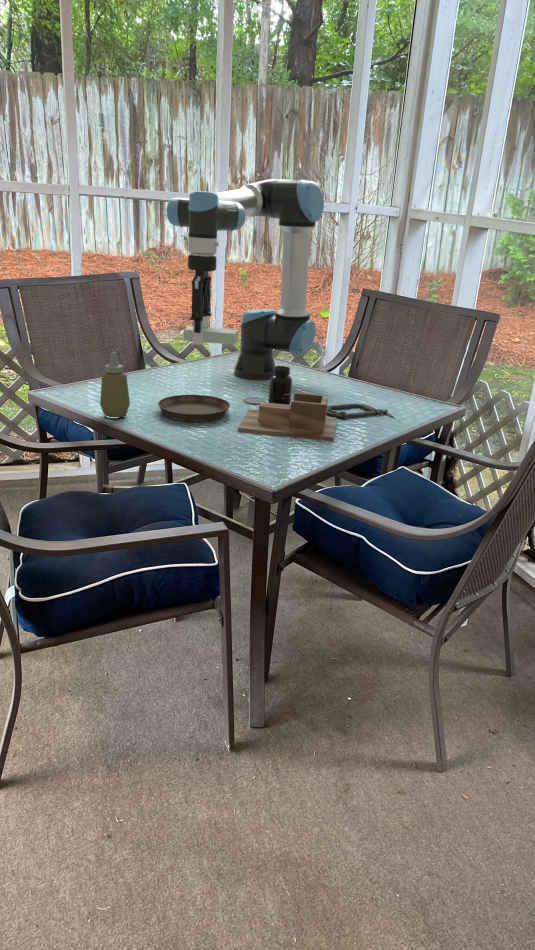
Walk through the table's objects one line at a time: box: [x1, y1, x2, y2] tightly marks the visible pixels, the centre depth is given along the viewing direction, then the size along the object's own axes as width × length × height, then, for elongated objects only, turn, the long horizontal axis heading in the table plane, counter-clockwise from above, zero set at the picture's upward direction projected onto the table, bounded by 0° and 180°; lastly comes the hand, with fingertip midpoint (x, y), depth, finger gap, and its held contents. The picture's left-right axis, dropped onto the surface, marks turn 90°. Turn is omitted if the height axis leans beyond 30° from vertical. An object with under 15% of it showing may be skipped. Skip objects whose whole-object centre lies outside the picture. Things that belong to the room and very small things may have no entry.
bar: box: [183, 325, 239, 345], centre depth 183 cm, size 6×14×3 cm, turn 83°
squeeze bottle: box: [99, 351, 131, 418], centre depth 182 cm, size 8×8×18 cm
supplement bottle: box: [267, 365, 293, 405], centre depth 203 cm, size 7×7×12 cm
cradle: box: [237, 391, 338, 442], centre depth 185 cm, size 18×26×8 cm
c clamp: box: [326, 403, 395, 420], centre depth 201 cm, size 20×17×3 cm
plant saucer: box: [157, 394, 231, 423], centre depth 192 cm, size 21×21×3 cm
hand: (200, 341), depth 184 cm, fingers closed on bar, 6 cm apart
